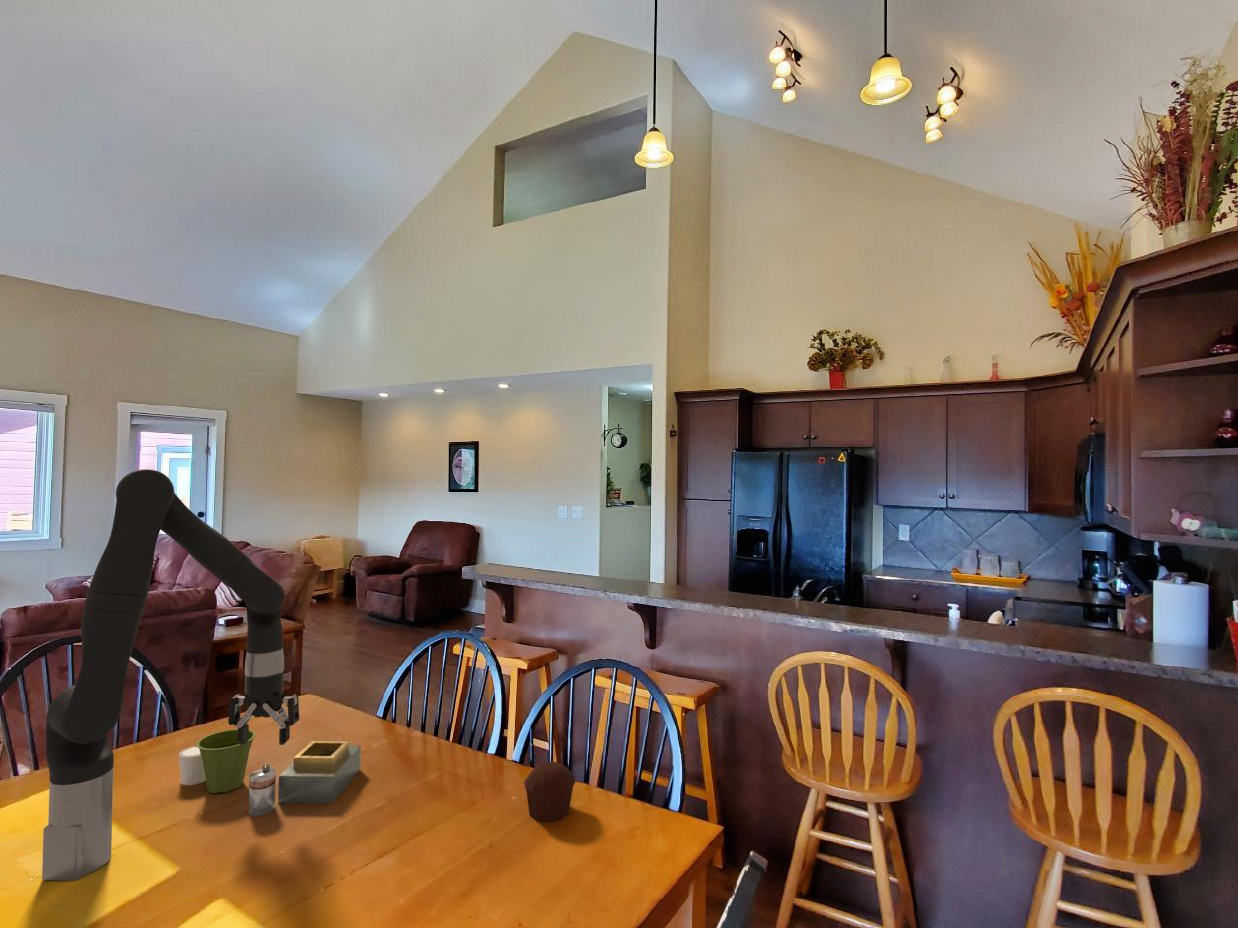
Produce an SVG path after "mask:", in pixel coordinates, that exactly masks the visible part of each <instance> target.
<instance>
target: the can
mask: <svg viewBox="0 0 1238 928" xmlns="http://www.w3.org/2000/svg"><path fill="white" fill-rule="evenodd" d="M276 771H277V770H276V769H275V768H272V767H271V766H270V764H264V765H262V768H261V769H256V770H254V771H252V772H250V773H249V781H248V788H249V789H248V815H250V816H252V817H261V816H264V815H268V814H271V812H273V811H274V810H275V808H276V807H275V806H276V781H277V779H276V777H277V776H276V775H277V772H276Z"/></svg>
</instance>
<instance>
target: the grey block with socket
mask: <svg viewBox="0 0 1238 928" xmlns="http://www.w3.org/2000/svg"><path fill="white" fill-rule="evenodd" d="M361 747H362V746H361V745H352V744H351V745H350V741H343V740H342V741H341V740H339V741H336V740H335V741H334V740H312V741H310V742H309V743H308V744H307V745H306V746H305V747H304V748H302V749H301V750H300V751H299V752H298V753H297V754H296V755H295V756H294V757H293V762H292V763H291V764H290V765H289V766H288V767H287V768H286V769H285V770H283V772H281V773H280V774H279V775H278V790H277V791H278V799H277V800H278V802H277V803H280V804H333V803H334V802H335V800H336V799H337V798H338V796H340V795H341V793H342V792H343V791H344V790H345V789H346V787H347V786H348V785H349V784H350V783H351V781H352V780H353V779H354V778H355V777H356V776H357V774H358V773H359V772H360V770H361V755H362V754H361V750H362V749H361Z"/></svg>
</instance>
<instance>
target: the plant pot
mask: <svg viewBox="0 0 1238 928" xmlns="http://www.w3.org/2000/svg"><path fill="white" fill-rule="evenodd" d="M255 737H256V732H255V731H254V730H252V729H249V740H248V742H247V743H245V744H244V745H240V742H238V728H234V729H227V730H220V731H216V732H213V733H210V734H208V735H205V736H204V737H202V738H200V739H199V740H198V741H196V745H195V746H197V747H198V748H199V749H200V754H201V757H202V760H203V766H204V772H205V778H206V781H205V784H206V788H207V790H206V791H208V792H209V793H212V794H218V793H229V792H232V791H234V790H237V789H238V788H240V787H241V786H242V784H243V783H244V782H245V781H244V780H245V776H246V769H247V765H248V759H249V754H250V749H251V748H252V744H253V740H254V738H255Z"/></svg>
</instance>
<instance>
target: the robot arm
mask: <svg viewBox="0 0 1238 928" xmlns="http://www.w3.org/2000/svg"><path fill="white" fill-rule="evenodd" d="M115 497H116V499H115V500H116V501H115V507H114V515H113V521H112V522H113V523H112V528H111V532H110V535H109V539H108V541H107V544H106V546H105V548H104V551H103V553H102V554H101V558H100V559H99V562H98V564H97V566H96V568H95V571H94V573H93V576H92V578H91V581H90V584H89V588H88V590H87V595H86V598H85V602H84V606H83V609H82V614H81V625H80V627H81V628H80V630H81V631H80V632H81V633H80V635H81V638H80V639H81V664H80V668H79V669H80V670H79V673H78V675H77V680H76V682H75V685H71V686H69V687H68V688H65V689H64V690H62V691H61V692H60V693H59V694H57V695H56V696H55V698H54V699H53V700H52V701H51V703H50V705H49V706H48V709H47V713H46V719H45V720H46V721H45V741H46V742H45V757H46V758H45V759H46V763H47V767H48V773H49V778H48V779H49V785H48V786H49V792H48V795H49V796H48V816H47V817H48V823H47V825H45V827H44V828H43V831H42V833H43V835H42V837H43V838H42V870H41V871H42V872H41V880H42V881H78V880H79V878H82V877H83V876H86V875H88V874H91V873H93V872H96V871H97V870H98V869H100V868H102V867H103V866H105V865H106V864H107V863H108V862H110V860H111V858H112V841H113V840H112V839H113V838H112V835H113V801H114V798H113V795H114V769H115V768H114V767H115V766H114V765H115V764H114V763H115V755H114V750H113V749H112V746H111V743H110V740H109V734H110V732H111V731H112V730H113V729H114V727H115V726H116V724H117V723H118V721H119V718H120V717H121V714H122V709H123V703H124V702H123V701H124V697H125V696H124V695H125V694H124V693H125V687H126V680H127V673H128V669H129V664H130V658H131V656H132V653H133V649H134V646H135V641H136V638H137V634H138V631H139V627H140V624H141V621H142V617H143V614H144V610H145V606H146V603H147V600H148V594H149V590H150V587H151V586H150V585H151V581H152V575H153V568H154V562H155V561H154V559H155V550H156V546H157V541H158V538H159V536H160V535H159V534H160V532H161V531H162V532H163V533H164V534H166V535H167V536H169V538H171V539H173V540H174V541H175V542H176V543H177V544H178V545H179V546H180V547H182V549H183V550H184V551H186V553H188V554H189V555H190V556H191V557H192V558H193V559H194V560H195V561H196V562H197V563H198V564H199V565H200V566H201V567H203V568H204V569H205V570H206V571H208V572H209V573H210V574H211V575H212V576H213V577H215V578H216V579H217V580H219V581H220V582H221V583H222V584H224V585H226V586H227V587H229V588H230V589H231V590H232V591H233V592H234V593H235V594H236V596H238V598H240V599H241V600H242V601H243V602H244V603H245V608H246V620H247V630H246V631H247V633H246V654H245V655H246V656H245V662H244V693H245V696H244V695H242V694H240V693H237V694H236V695H234V696H233V697H231V698H230V699H229V705H228V706H229V708H228V721H227V722H228V725H229V726H236V729H238V742H240V745H244V744H245V743H247V742H248V740H249V730H250V729H249V728H250V725H249V724H248V723H249V722H250V720H252V718H253V717H254V718H261V717H262V718H265V719H266V718H268V719H269V718H271V719H272V720H273V721H274V722H276V723H277V725H279V727H280V728H278V729H279V730H278V732H279V733H278V734H279V735H278V737H279V738H278V739H279V741H278V745H280V746H284V745H285V744H286V743H287V742H288V741H289V739H290V737H291V727H292V726H294V725H295V724H296V723H297V722H298V721H300V703H299V695H298V694H293V695H292V696H285V694H284V687H285V655H284V654H285V653H284V628H283V623H282V618H281V612H282V611H281V609H282V606H283V605H284V603H285V600H286V591H285V589H284V587H283V586H282V585H281V583H280V582H278V580H276V579H275V578H272V577H271V576H270V575H268V574H267V573H266V572H264V571H263V570H262V569H261V568H259V567H258V566H257V565H256V563H254V561H253V560H252V559H251V558H250V557H249V556H248V555H247V554H246V553H245V552H244V551H242V550H241V549H240V548H239V547H237V545H235V544H234V543H233V542H232V541H231V540H229V539H228V538H227V537H225V536H224V535H223V534H221V533H220V532H219V531H217V530H216V529H214V528H213V527H212V526H210V525H209V524H207V523H206V522H205V521H204V520H202V519H201V518H200V517H199V516H198V515H196V514H195V513H194V512H193V511H192V510H191V509H190V508H189V507H188V506H187V505H186V504H185V503H184V502H183V501H182V499H180V498H179V496H178V495H177V494H176V492H175V486H174V485H173V482H172V481H171V479H170V477H169V476H167V475H166V474H164V473H163V472H161V471H159V470H156V469H151V468H142V469H137V470H133V471H131V472H129V473H128V474H126V475H125V476H124V477H122V478H121V480H120V481H119V482H118V484H117V486H116V489H115ZM283 704H284V705H285V707H286V708H287V710H286V709H285V708H284V706H283ZM242 705H244V706H245V707H246V709H247V710H246V711H245V712H244V713H243V715H242V716H241V714H242V713H241V711H242Z"/></svg>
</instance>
